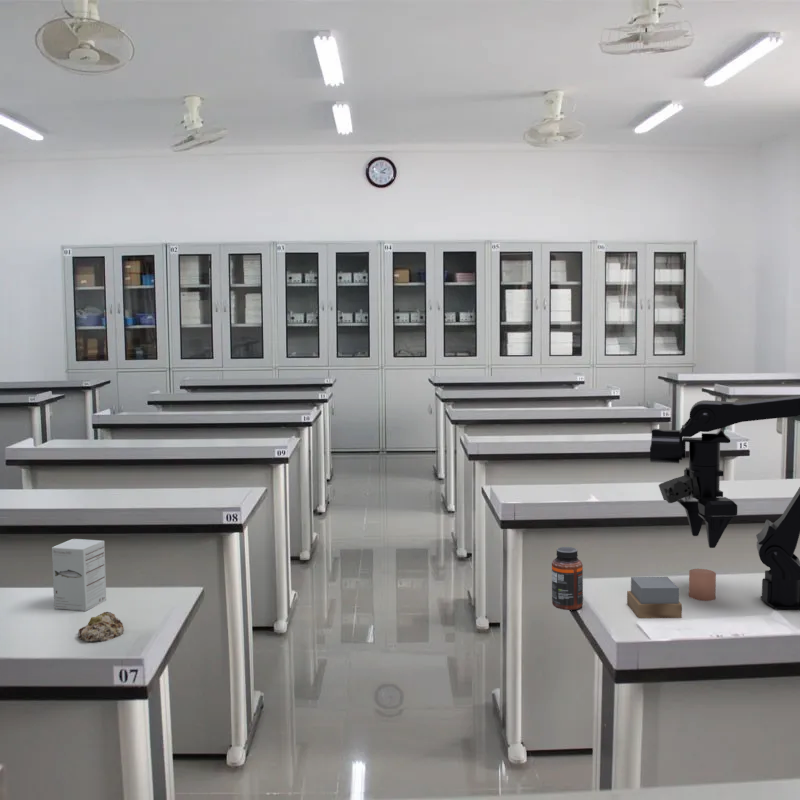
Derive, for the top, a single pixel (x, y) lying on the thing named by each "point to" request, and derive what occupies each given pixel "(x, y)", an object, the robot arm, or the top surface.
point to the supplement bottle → (567, 579)
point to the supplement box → (79, 574)
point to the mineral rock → (102, 628)
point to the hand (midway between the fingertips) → (703, 541)
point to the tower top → (654, 590)
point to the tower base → (653, 609)
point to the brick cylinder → (702, 584)
